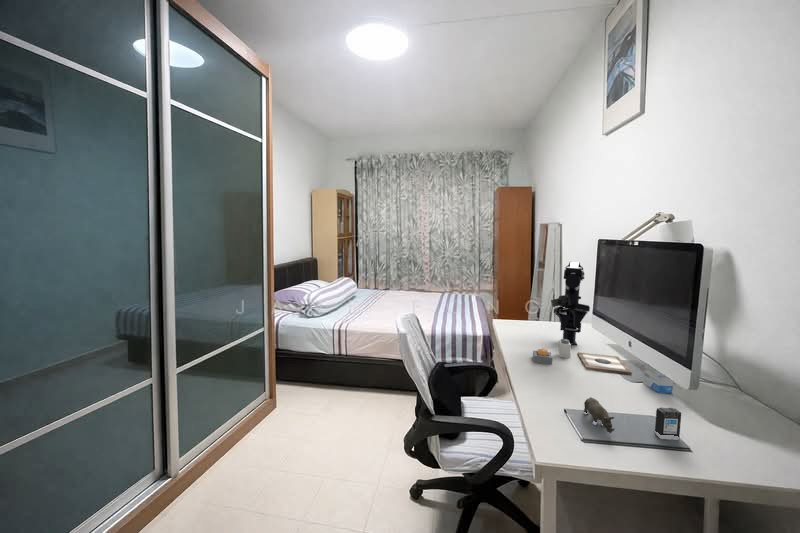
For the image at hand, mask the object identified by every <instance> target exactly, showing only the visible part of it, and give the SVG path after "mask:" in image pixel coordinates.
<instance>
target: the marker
mask: <svg viewBox="0 0 800 533" xmlns="http://www.w3.org/2000/svg"><path fill="white" fill-rule="evenodd" d="M558 345H559V346H558V355H559V357H560V358H567V359H570V358H571V349H572V348H571V346H572V344H570V342H569V340H567V339H563V338H561V339H560V340H559V344H558Z"/></svg>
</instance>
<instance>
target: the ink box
mask: <svg viewBox="0 0 800 533" xmlns="http://www.w3.org/2000/svg"><path fill="white" fill-rule="evenodd" d="M643 369H644V370H643V377H642V378H643V379H642V384H645V385H646V386H647V387H649V388H651V390H653V391H655V392H657V393H659V394H672V393H673V389H674V388H673V387H674V380H673V381H671V380H670V379H668V378H667V377H666V376H665V375H663V374H662V373H660V372H659V371H657V370H656V369H654V368H653V367H651V366H650V365H649V364H647V363H645V362H644V368H643Z"/></svg>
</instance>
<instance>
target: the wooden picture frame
mask: <svg viewBox="0 0 800 533" xmlns="http://www.w3.org/2000/svg"><path fill="white" fill-rule="evenodd" d="M577 356H578V359H579V360H580V362H581V363H582V365H583V367H584V368H585V370H588V371H596V372H604V373H605V372H606V373H613V374H614V373H615V374H620V373H622V375H628V374H633V372H632V371H631V370H630V369H629V367H628V366H627V365H626V364H625V363H624V362H623V360H622V359H621V358H620V357H619V356H616V355H608V354H607V355H606V354H597V353H589V352H580V351H578V352H577Z"/></svg>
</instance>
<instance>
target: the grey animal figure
mask: <svg viewBox="0 0 800 533" xmlns="http://www.w3.org/2000/svg"><path fill="white" fill-rule="evenodd" d="M583 406H584V408H583V409H584V410H583V412H586V413H587V412H588V414H589V415H591V416H592V418H593V421H595V422H597V423H598V420H599V421H601V422H602V424H603V426H604V427H603V428H604V429H605V431H606V432H607V433H608V432H610V433H609V434H611V432H614V431H615V428H614V427H613V424H612V421H611V420H613V419H615V416H609V413H608V410H606V408H604V407H603V405H602V404H600V402H599V400H597V399H596V398H593V397H592V396H590V397H589V398H586V399H585V400H584V405H583ZM601 422H600V423H601Z"/></svg>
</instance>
